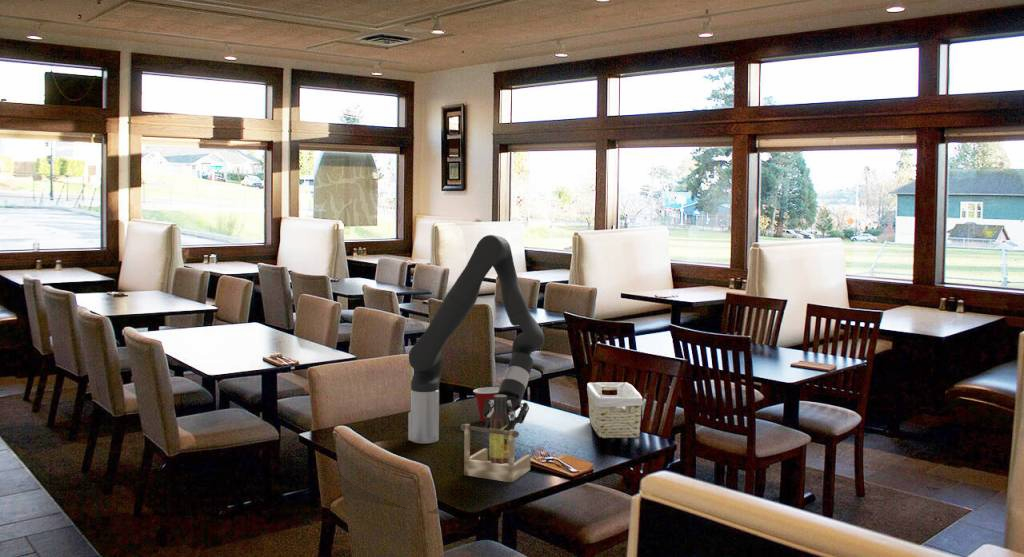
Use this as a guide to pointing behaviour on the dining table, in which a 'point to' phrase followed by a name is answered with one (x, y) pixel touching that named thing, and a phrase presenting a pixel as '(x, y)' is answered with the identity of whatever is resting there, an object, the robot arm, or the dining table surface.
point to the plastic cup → (484, 398)
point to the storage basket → (615, 410)
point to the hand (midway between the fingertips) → (497, 432)
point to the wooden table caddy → (495, 471)
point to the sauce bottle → (499, 422)
